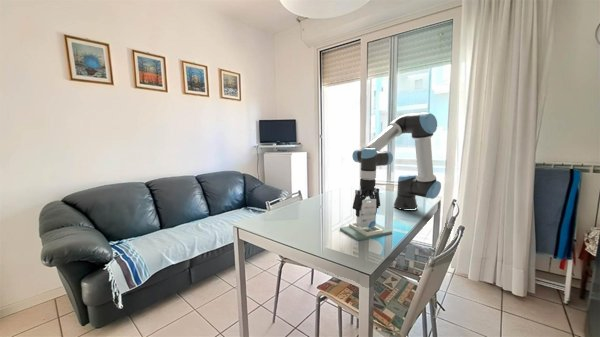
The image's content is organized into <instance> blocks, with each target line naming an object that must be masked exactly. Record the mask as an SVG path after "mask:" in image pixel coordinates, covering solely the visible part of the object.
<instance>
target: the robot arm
mask: <svg viewBox="0 0 600 337" xmlns="http://www.w3.org/2000/svg"><path fill="white" fill-rule="evenodd" d="M437 120H438V119H437V118H436V116H435V115H434V114H433V113H431V112H420V113H419V112H418V113H417V112H416V113H407V114H406V113H405V114H404V115H403V114H402V115H401V116H399V117H397V118H396V119H394V120H392V121H391V122H390V123H389V124H388V125H387V128H385V129H384V130H383V131H382V132H380V133H379V134H378V135H377V136H376V137H375V138H373V139H372V140H371V141H370V142H368V143H367V144H366V145H365V146H363V147H362V148H361V149H355V150H354V151H353V152H352V160H353V161H354V162H355V163H359V164H360V183H359V184H360V189H355V195H354V200H353V204H352V209H353V210H355V217H356V222H358V223H361V210H360V209H361V206H362V200H367V198H368V197H369V199H376V214H378V213H377V212H378V209H379V208H380V207H381V198H380V188H378V187H376V178H377V167H381V166H389V165H391V164H392V162H393V161H394V157H393V154H392V153H391V151H388V150H383V151H381V150H382V149H384V148H385V147H386V146H387V145H389V144H390V143H391V142H392V141H394V139H396V137H399V136H401V135H403V134H411V138H412V139H413V140H414V145H415V155H416V156H415V158H416V166H417V167H416V169H417V175H416V174H401V175H399V176H398V178H397V192H396V194H397V195H396V197H395V201H394V203H393V207H394V206H395V207H397V208H401V209H415V208H417V207H418V203H417V199H416V197H420V198H421V197H422V198H426V199H432V200H433V199H435V198H438V197H439V195H440V192H441V188H442V183H441V182H440V181H439V180H437V176H436V175H435V174H434V166H433V152H432V151H433V150H432V140H431V138H433V136H434V133H435V132H436V131H437V128H438V121H437ZM395 207H394V208H395ZM418 208H419V207H418ZM418 208H417V209H418Z"/></svg>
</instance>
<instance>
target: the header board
mask: <svg viewBox="0 0 600 337" xmlns="http://www.w3.org/2000/svg"><path fill="white" fill-rule="evenodd" d="M348 224H349V225H346V226H342V227H339V230H340V231H341V232H342V233H344V234H345V235H347V236H349V237H351V238H352V239H354V240H356V241H357V242H359V241H363V240H368V239H373V238H377V237H381V236H387V235H390V234H391V235H392V233H393V230H391V229H388V228H386V227H384V226H382V225H380V224H378V223H376V224H375V226H371V227H363V228H361V227H360V226H358V225H357V222H355V221H354V222H350V223H348Z"/></svg>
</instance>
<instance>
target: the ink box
mask: <svg viewBox="0 0 600 337" xmlns="http://www.w3.org/2000/svg"><path fill="white" fill-rule="evenodd" d="M360 210H361V223H358V222H357V225H358V226H360V227H361V228H363V227H371V226H375V224H377V223H376V222H377V221H376V219H377V213H376V199H370V198H369V199H367V198H366V199H365V200H362V206H361V209H360Z"/></svg>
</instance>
